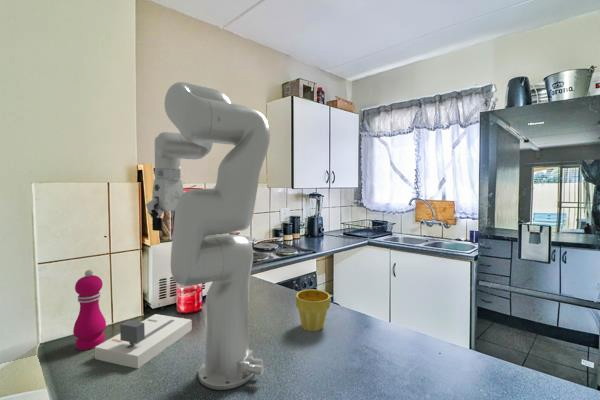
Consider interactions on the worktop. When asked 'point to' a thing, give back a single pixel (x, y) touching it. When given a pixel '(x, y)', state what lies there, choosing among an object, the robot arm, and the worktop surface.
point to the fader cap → (132, 331)
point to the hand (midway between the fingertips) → (168, 228)
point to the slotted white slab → (144, 341)
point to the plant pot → (312, 308)
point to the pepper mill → (89, 313)
